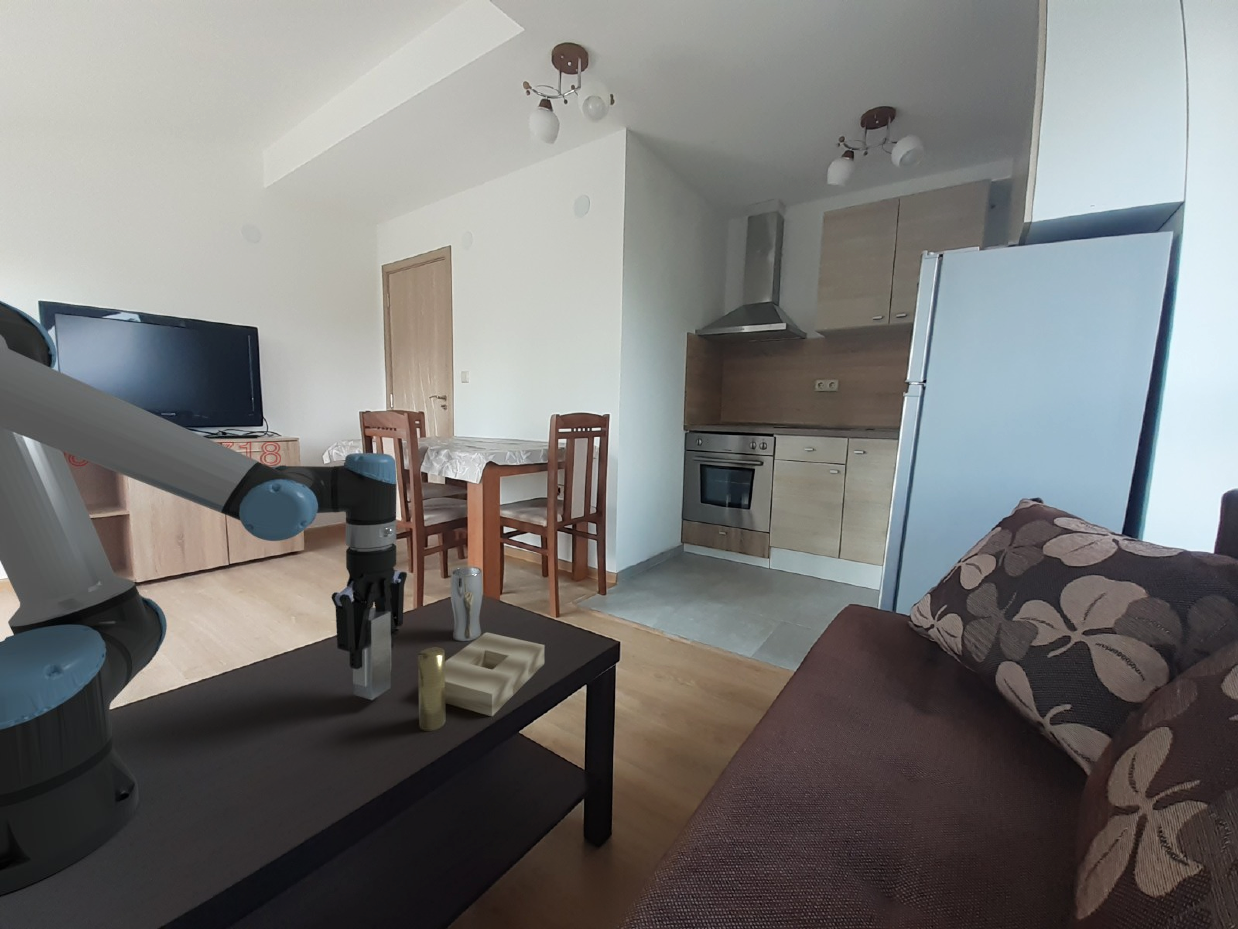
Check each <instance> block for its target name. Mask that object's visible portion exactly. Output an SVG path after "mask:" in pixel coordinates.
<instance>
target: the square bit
mask: <svg viewBox="0 0 1238 929" xmlns="http://www.w3.org/2000/svg"><path fill="white" fill-rule="evenodd" d="M364 647H368V648H369V685H367V686H366V687H364V686H361V685H358V684H355V683H353V695H355V696H358V697H361V698H363V699H366V700H367V699H368V700H371V701H373V700H375V699H376V698H377V697H379V696H380V695H382V694H384V693H385V692H387V691H388V690H389V689H391V688H392V686H391V680H392V679H391V677H392V676H391V673H392V672H391V671H392V650H391V612H390V611H383V610H379V609H375V607H372V608H371V609H370V614H369V619H368V626H367V633H366V639H365V645H364Z"/></svg>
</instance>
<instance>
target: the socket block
mask: <svg viewBox="0 0 1238 929" xmlns="http://www.w3.org/2000/svg"><path fill="white" fill-rule="evenodd" d="M544 665H545V644H540V643H538V642H532V641H527V640H522V639H519V638H513V637H509V636H504V635H501V634H495V633H492V632H485V633H483V634H481V635H480V636H479V637H478V638H476V639H474V640H472V642H470V643H469V644H468V645H466V646H465V647H464V648H462V649H461V650H459V651H458V652H457V653H455V654H454V655H452V656H451V657H450V658H448V659H446V660H445V704H448V705H452V706H454V707H457V708H462V709H465V710H468V711H473V712H476V713H479V714H483V715H486V716H489V717H493V716H494V715H495V714H497V712H498V711H499V710H501V708H502V707H503V706H504V705H505V704H506V703H507V702H508V701H509V700H510V699H511V698H513V696H514V695H515V694H516V693H517V692H518V691H519V690H520V689H521V688H522V687H524V685H525V684H526V683H527V682H528V681H529V680H530V679H531V678H532V677H533V676H534V675H535V674H536V673H537V672H538V671H539V669H540V668H542V667H543V666H544Z"/></svg>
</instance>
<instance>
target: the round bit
mask: <svg viewBox="0 0 1238 929" xmlns="http://www.w3.org/2000/svg"><path fill="white" fill-rule="evenodd" d="M445 654H446V651H445V649H444V648H442V647H437V646H434V647H428V648H425V649H423V650H421V651H420V652H418V655H417V669H418V670H417V671H418V672H417V673H418V674H417V675H418V678H417V680H418V720H419V721H418V723H419V724H418V726H419V729H420V730H421V731H425V732H432V731H436V730H439V729H440V728H442V727H443V726H444V725H445V723H446V703H445V661H446V656H445Z"/></svg>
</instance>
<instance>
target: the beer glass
mask: <svg viewBox="0 0 1238 929" xmlns="http://www.w3.org/2000/svg"><path fill="white" fill-rule="evenodd" d="M483 583H484V582H483V569H482V568H480V567H477V566H462V567H461V566H460V567H458V568H455V569H453V570H451V573H450V590H449V591H450V600H451V607H452V611H453V612H452V613H453V617H454V628H453V632H452V633H453V634H452V637H453V639H454V641H455V640H456V641H459V642H470V641H475V640H476V639H478V638H479V637H480V636H482V630H481V624H480V613H481V608H482V602H483V596H484V595H483V594H484V584H483Z"/></svg>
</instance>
